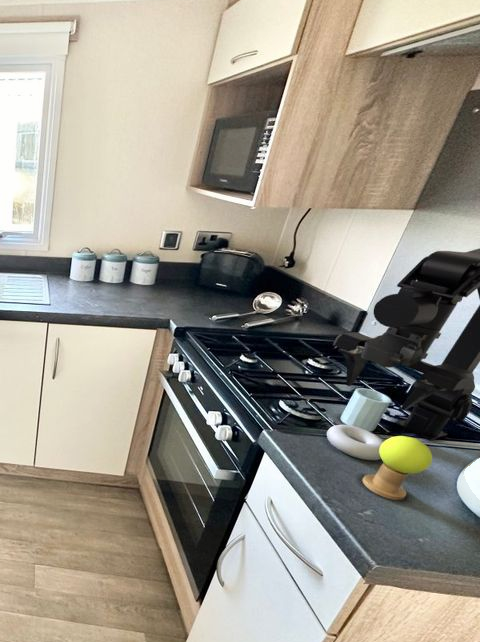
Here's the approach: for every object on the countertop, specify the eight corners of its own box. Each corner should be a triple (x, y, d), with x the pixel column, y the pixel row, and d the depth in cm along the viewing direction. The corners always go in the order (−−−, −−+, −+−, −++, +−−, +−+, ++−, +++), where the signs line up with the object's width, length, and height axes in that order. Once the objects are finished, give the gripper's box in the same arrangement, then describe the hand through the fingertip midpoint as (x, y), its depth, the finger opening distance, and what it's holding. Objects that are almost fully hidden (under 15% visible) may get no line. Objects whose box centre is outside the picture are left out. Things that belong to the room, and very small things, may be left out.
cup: (351, 414, 101) (366, 386, 97) (380, 429, 96) (397, 400, 92) (334, 418, 99) (349, 390, 96) (362, 433, 94) (379, 404, 90)
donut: (395, 466, 84) (359, 435, 93) (404, 453, 83) (367, 423, 92) (344, 461, 85) (313, 431, 94) (352, 449, 84) (319, 419, 92)
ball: (386, 453, 80) (403, 426, 77) (429, 477, 74) (449, 448, 71) (363, 459, 78) (380, 432, 75) (406, 484, 72) (425, 455, 69)
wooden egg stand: (375, 474, 82) (387, 454, 80) (412, 496, 77) (426, 476, 74) (354, 480, 80) (366, 460, 78) (391, 503, 75) (405, 482, 73)
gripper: (334, 307, 79) (299, 378, 86) (465, 348, 63) (409, 430, 70) (369, 306, 83) (333, 373, 90) (500, 344, 67) (444, 422, 74)
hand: (374, 397), depth 81 cm, fingers open, 9 cm apart
